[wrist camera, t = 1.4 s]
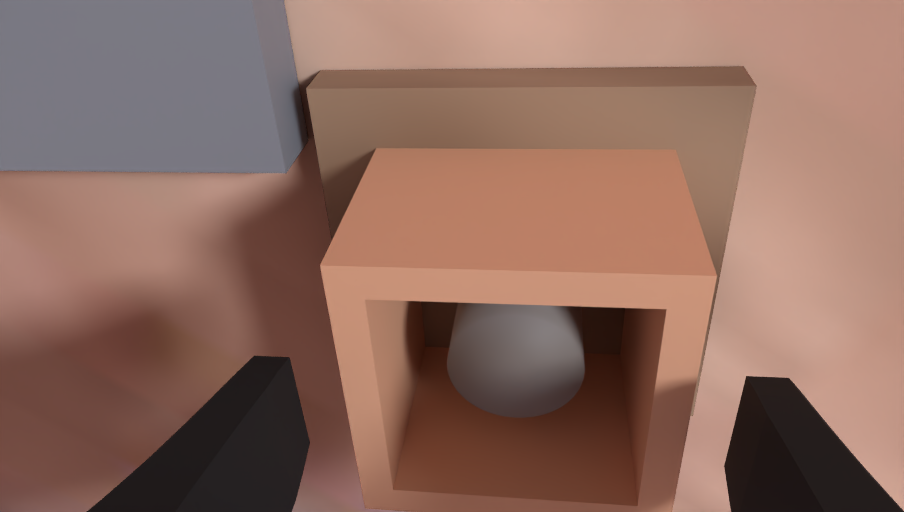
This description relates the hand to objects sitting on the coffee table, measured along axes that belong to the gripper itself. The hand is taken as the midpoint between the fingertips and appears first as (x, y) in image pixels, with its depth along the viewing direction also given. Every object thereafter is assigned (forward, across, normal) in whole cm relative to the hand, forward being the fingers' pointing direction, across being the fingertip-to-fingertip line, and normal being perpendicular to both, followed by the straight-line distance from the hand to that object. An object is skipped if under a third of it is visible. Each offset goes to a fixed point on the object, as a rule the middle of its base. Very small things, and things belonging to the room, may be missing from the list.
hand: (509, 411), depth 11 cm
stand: (+5, 0, 0) cm, 5 cm away
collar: (+4, 0, 0) cm, 4 cm away
